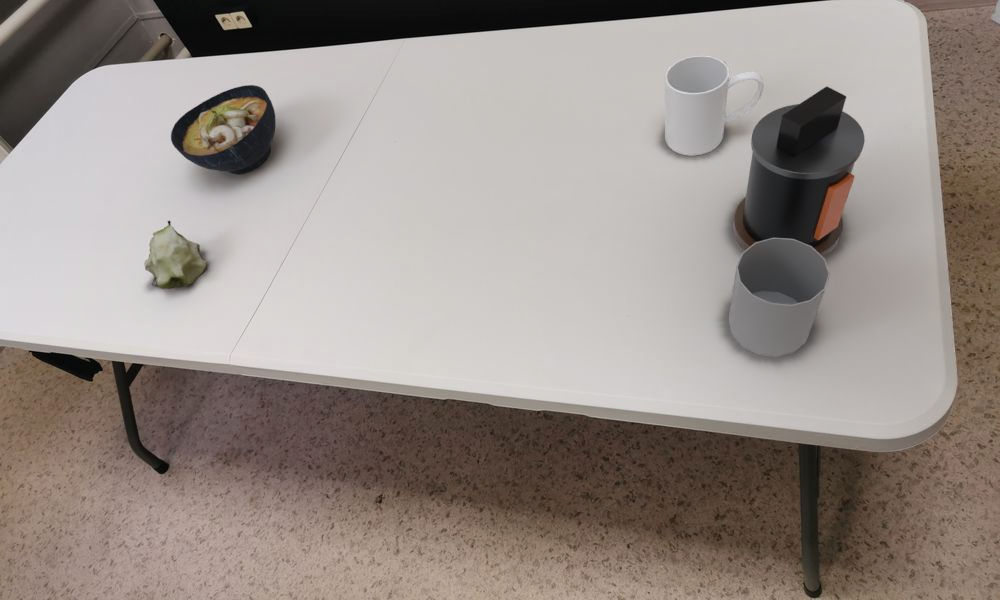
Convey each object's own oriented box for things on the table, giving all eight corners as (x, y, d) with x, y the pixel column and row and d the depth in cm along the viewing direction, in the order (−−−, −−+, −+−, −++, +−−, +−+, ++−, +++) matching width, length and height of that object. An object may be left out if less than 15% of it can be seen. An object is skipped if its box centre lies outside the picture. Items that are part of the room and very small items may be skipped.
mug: (664, 158, 86) (664, 96, 78) (665, 120, 90) (665, 58, 82) (757, 153, 83) (768, 88, 74) (754, 114, 87) (763, 49, 79)
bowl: (202, 146, 113) (167, 102, 105) (289, 112, 113) (261, 65, 105) (203, 206, 103) (165, 162, 95) (299, 169, 103) (268, 121, 95)
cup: (810, 297, 69) (829, 241, 61) (810, 361, 65) (830, 309, 57) (731, 290, 72) (739, 235, 64) (725, 351, 68) (733, 300, 60)
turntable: (848, 201, 75) (851, 193, 74) (829, 277, 70) (832, 269, 69) (746, 185, 80) (748, 176, 79) (721, 254, 75) (722, 246, 74)
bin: (858, 221, 72) (902, 103, 58) (789, 269, 70) (819, 159, 56) (785, 174, 78) (810, 58, 64) (721, 218, 76) (733, 108, 63)
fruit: (182, 252, 99) (158, 213, 93) (226, 266, 96) (205, 226, 91) (139, 291, 94) (111, 252, 88) (185, 306, 91) (160, 267, 85)
